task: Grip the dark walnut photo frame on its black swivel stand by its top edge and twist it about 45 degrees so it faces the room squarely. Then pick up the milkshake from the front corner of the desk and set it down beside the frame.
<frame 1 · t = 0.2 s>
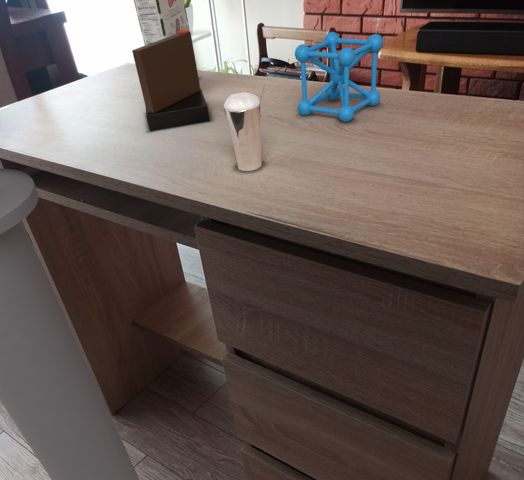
milkshake: (252, 167, 70), on the table
frame stand: (178, 116, 89), on the table
frame: (168, 71, 84), point 7 cm above the table, hinge at 45.0°
candy bar box: (177, 87, 104), on the table
molecular structure: (339, 111, 83), on the table
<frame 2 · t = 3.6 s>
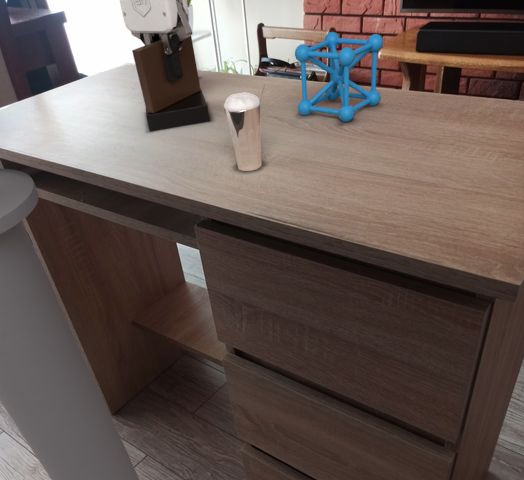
hand: (170, 78, 85), 6 cm above the table, tool pointing down, fingers closed on frame
frame: (168, 71, 84), point 7 cm above the table, hinge at 45.0°, touching gripper
everything else where it was.
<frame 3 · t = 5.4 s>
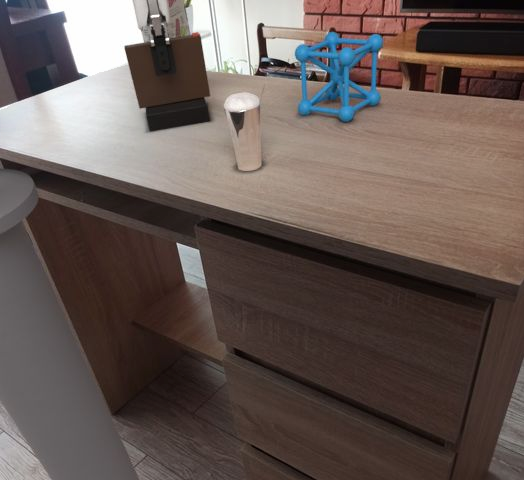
hand: (164, 67, 84), 8 cm above the table, tool pointing down, fingers open, 9 cm apart
frame: (168, 71, 84), point 7 cm above the table, hinge at 0.8°
everything else where it was.
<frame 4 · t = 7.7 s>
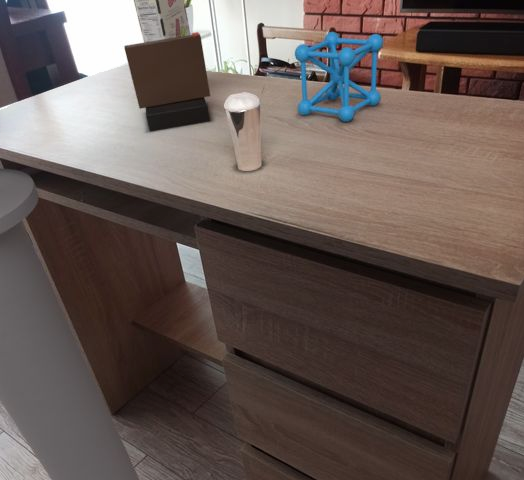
nothing on the table moved.
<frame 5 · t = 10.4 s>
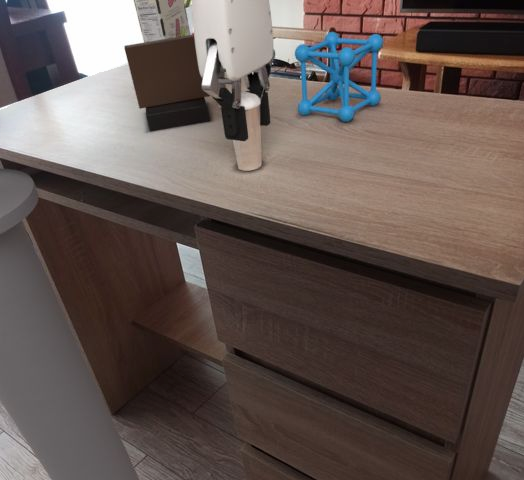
hand: (248, 130, 67), 5 cm above the table, tool pointing down, fingers closed on milkshake, 4 cm apart
milkshake: (252, 167, 70), on the table, touching gripper
everything else where it was.
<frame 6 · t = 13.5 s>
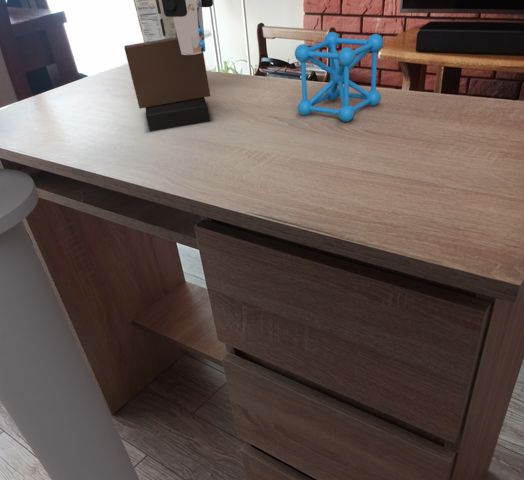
hand: (189, 9, 65), 17 cm above the table, tool pointing down, fingers closed on milkshake, 4 cm apart
milkshake: (196, 53, 68), point 12 cm above the table, touching gripper
everything else where it was.
when the fingers open (5 cm above the table, at t = 16.7 s): milkshake stays where it is, on the table.
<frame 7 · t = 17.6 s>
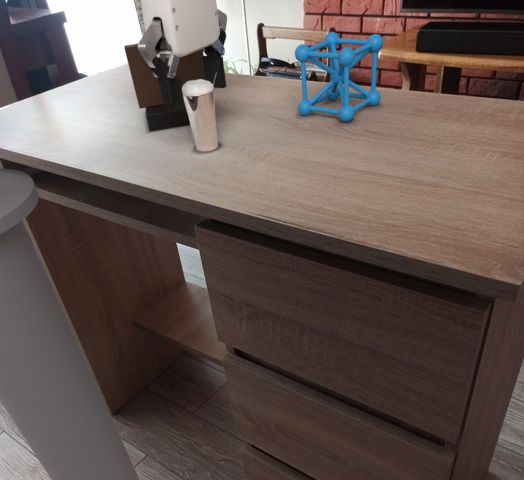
hand: (196, 97, 72), 7 cm above the table, tool pointing down, fingers open, 9 cm apart
milkshake: (210, 148, 77), on the table
everything else where it was.
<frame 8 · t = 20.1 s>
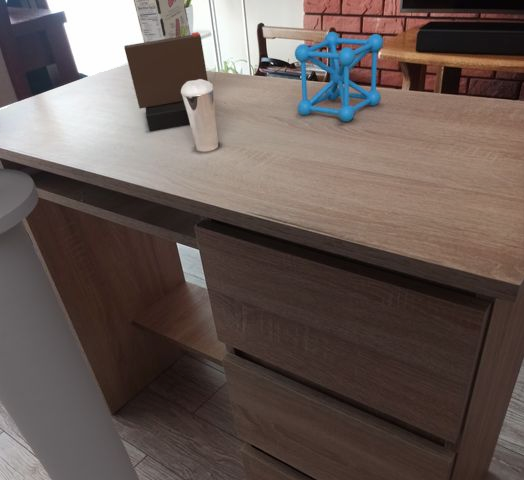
nothing on the table moved.
at the end: frame at +1° (first picture: +45°); milkshake inside the target area (0.0 cm from its centre), on the table; milkshake tilted 0° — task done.
